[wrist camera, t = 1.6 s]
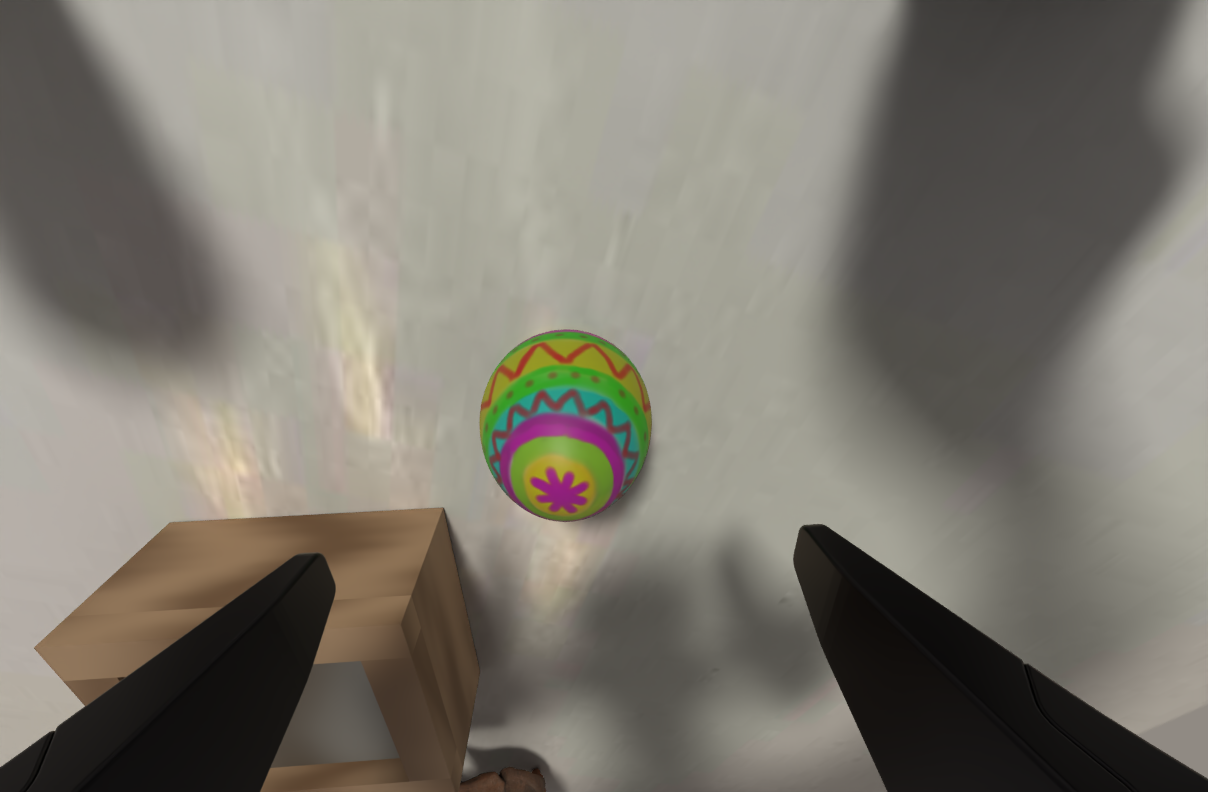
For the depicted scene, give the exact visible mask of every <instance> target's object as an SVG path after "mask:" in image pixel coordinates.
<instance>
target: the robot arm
mask: <svg viewBox="0 0 1208 792" xmlns="http://www.w3.org/2000/svg"><path fill="white" fill-rule="evenodd" d="M793 562H794V568H795V571H796V574H797V577H798V580H799V583H800V586H801V589H802V592H803V595H804V598H805V601H806V603H807V606H808V609H809V612H810V615H811V618H812V621H813V624H814V627H815V630H816V633H817V636H818V638H819V641H820V644H821V647H822V649H823V651H824V654H825V656H826V658H827V660H828V663H829V665H830V667H831V669H832V671H833V674H834V676H835V678H836V680H837V682H838V685H839V687H840V689H841V691H842V693H843V696H844V698H845V700H846V702H847V704H848V706H849V709H850V711H851V713H852V715H853V717H854V720H855V722H856V724H857V726H858V728H859V731H860V733H861V735H862V737H863V739H864V741H865V744H866V746H867V748H868V750H869V752H870V755H871V757H872V759H873V761H874V763H875V766H876V768H877V770H878V772H879V774H880V776H881V779H882V781H883V783H884V785H885V787H886V790H887V792H1208V779H1207V778H1206V777H1204V776H1202V775H1201V774H1199V773H1197V772H1196V771H1194V770H1193V769H1191V768H1189V767H1187V766H1186V765H1184V764H1183V763H1181V762H1179V761H1178V760H1176V759H1174V758H1173V757H1171V756H1169V755H1168V754H1166V753H1165V752H1163V751H1161V750H1160V749H1158V748H1156V747H1155V746H1153V745H1151V744H1150V743H1148V742H1147V741H1145V740H1143V739H1142V738H1140V737H1139V736H1137V735H1136V734H1134V733H1133V732H1131V731H1129V730H1128V729H1126V728H1125V727H1123V726H1121V725H1120V724H1118V723H1117V722H1115V721H1113V720H1112V719H1110V718H1109V717H1107V716H1105V715H1104V714H1102V713H1101V712H1099V711H1098V710H1096V709H1095V708H1093V707H1092V706H1090V705H1089V704H1087V703H1086V702H1084V701H1083V700H1081V699H1080V698H1078V697H1077V696H1075V695H1074V694H1072V693H1070V692H1069V691H1067V690H1066V689H1064V688H1063V687H1061V686H1060V685H1058V684H1057V683H1055V682H1054V681H1052V680H1051V679H1050V678H1048V677H1047V676H1045V675H1044V674H1042V673H1041V672H1039V671H1038V670H1036V669H1035V668H1033V667H1032V666H1031V665H1029V664H1024V663H1023V661H1022V660H1021V659H1020V658H1019V657H1017V656H1016V655H1014V654H1013V653H1011V652H1010V651H1008V650H1007V649H1005V648H1004V647H1003V646H1001V645H1000V644H998V643H997V642H995V641H994V640H992V639H991V638H989V637H988V636H986V635H985V634H984V633H982V632H981V631H979V630H978V629H976V628H975V627H973V626H972V625H970V624H969V623H967V622H966V621H965V620H963V619H962V618H960V617H959V616H957V615H956V614H954V613H953V612H951V611H950V610H948V609H947V608H946V607H944V606H943V605H941V604H940V603H938V602H937V601H935V600H934V599H932V598H931V597H929V596H928V595H927V594H925V593H924V592H922V591H921V590H919V589H918V588H916V587H915V586H913V585H912V584H910V583H909V582H908V581H906V580H905V579H903V578H902V577H900V576H899V575H897V574H896V573H894V572H893V571H891V570H890V569H889V568H887V567H886V566H884V565H883V564H881V563H880V562H878V561H877V560H875V559H874V558H872V557H871V556H869V555H868V554H867V553H865V552H864V551H862V550H861V549H859V548H858V547H856V546H855V545H853V544H852V543H850V542H849V541H848V540H846V539H845V538H843V537H842V536H840V535H839V534H837V533H836V532H834V531H833V530H831V529H830V528H829V527H827V526H825V525H823V524H813V525H803V526H802V527H801V528H800V530H799V533H798V538H797V542H796V547H795V551H794V556H793ZM335 593H336V584H335V581H334V578H333V576H332V573H331V571H330V568H329V566H328V563H327V561H326V558H325V556H324V555H323V554H322V553H319V552H313V553H300V554H297V555H295V556H293V557H292V558H290V559H289V560H287V561H286V562H285V563H283V564H282V565H280V566H279V567H278V568H276V569H275V570H274V571H272V572H271V573H269V574H268V575H267V576H265V577H264V578H262V579H261V580H260V581H258V582H257V583H256V584H254V585H253V586H251V587H250V588H249V589H247V590H246V591H244V592H243V593H242V594H240V595H239V596H238V597H236V598H235V599H233V600H232V601H231V602H229V603H228V604H226V605H225V606H224V607H222V608H221V609H220V610H218V611H217V612H215V613H214V614H213V615H211V616H210V617H208V618H207V619H206V620H204V621H203V622H201V623H200V624H199V625H197V626H196V627H195V628H193V629H192V630H190V631H189V632H188V633H186V634H185V635H183V636H182V637H181V638H179V639H178V640H177V641H175V642H174V643H172V644H171V645H170V646H168V647H167V648H165V649H164V650H163V651H161V652H160V653H159V654H157V655H156V656H154V657H153V658H152V659H150V660H149V661H147V662H146V663H145V664H143V665H142V666H141V667H139V668H138V669H136V670H135V671H134V672H132V673H131V674H129V675H128V676H127V677H125V678H124V679H122V680H121V681H120V682H118V683H117V684H116V685H114V686H113V687H111V688H110V689H109V690H107V691H106V692H104V693H103V694H102V695H100V696H99V697H98V698H96V699H95V700H93V701H92V702H91V703H89V704H88V705H86V706H85V707H84V708H82V709H81V710H79V711H78V712H77V713H75V714H74V715H73V716H71V717H70V718H68V719H67V720H66V721H64V722H63V723H61V724H60V725H59V726H58V727H57V728H56V730H55V731H51V732H49V733H47V734H46V735H45V736H43V737H42V738H41V739H39V740H38V741H36V742H35V743H34V744H32V745H31V746H29V747H28V748H27V749H25V750H24V751H23V752H21V753H20V754H18V755H17V756H16V757H14V758H13V759H11V760H10V761H8V762H7V763H6V764H4V765H3V766H1V767H0V792H260V791H261V789H262V786H263V784H264V782H265V779H266V777H267V775H268V772H269V770H270V768H271V765H272V763H273V761H274V758H275V756H276V754H277V752H278V749H279V747H280V745H281V742H282V740H283V738H284V735H285V733H286V731H287V728H288V726H289V724H290V721H291V719H292V717H293V714H294V712H295V710H296V707H297V705H298V703H299V700H300V698H301V696H302V693H303V691H304V688H305V686H306V683H307V681H308V678H309V675H310V672H311V670H312V667H313V664H314V660H315V657H316V654H317V651H318V648H319V645H320V642H321V638H322V635H323V632H324V629H325V626H326V623H327V620H328V616H329V613H330V610H331V607H332V604H333V601H334V597H335Z"/></svg>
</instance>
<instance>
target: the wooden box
mask: <svg viewBox="0 0 1208 792" xmlns="http://www.w3.org/2000/svg"><path fill="white" fill-rule="evenodd" d="M313 552H319V553H322V554H323V555H324V556H325V558H326V561H327V563H328V566H329V568H330V571H331V573H332V576H333V578H334V581H335V584H336V593H335V597H334V601H333V604H332V607H331V610H330V613H329V616H328V620H327V623H326V626H325V629H324V632H323V635H322V638H321V642H320V645H319V648H318V651H317V654H316V657H315V660H314V664H313V667H312V670H311V672H310V675H309V678H308V681H307V683H306V686H305V688H304V691H303V693H302V696H301V698H300V700H299V703H298V705H297V707H296V710H295V712H294V714H293V717H292V719H291V721H290V724H289V726H288V728H287V731H286V733H285V735H284V738H283V740H282V742H281V745H280V747H279V749H278V752H277V754H276V756H275V758H274V761H273V763H272V765H271V768H270V770H269V772H268V775H267V777H266V779H265V782H264V784H263V786H262V789H261V791H260V792H459V787H460V782H461V776H462V770H463V765H464V759H465V753H466V748H467V742H468V737H469V731H470V725H471V720H472V714H473V709H474V703H475V697H476V692H477V686H478V680H479V675H480V669H479V665H478V660H477V656H476V651H475V647H474V642H473V638H472V634H471V629H470V625H469V620H468V616H467V611H466V607H465V603H464V598H463V594H462V589H461V585H460V580H459V576H458V571H457V567H456V563H455V558H454V554H453V549H452V545H451V540H450V536H449V532H448V527H447V523H446V518H445V514H444V509H443V508H429V509H411V510H393V511H374V512H356V513H338V514H319V515H301V516H283V517H264V518H246V519H228V520H209V521H191V522H173V523H169V524H168V525H167V526H166V527H165V528H163V529H162V530H161V531H160V532H159V533H158V534H157V535H156V536H155V537H154V538H153V539H152V540H150V541H149V542H148V543H147V544H146V545H145V546H144V547H143V548H142V549H141V550H140V551H138V552H137V553H136V554H135V555H134V556H133V557H132V558H131V559H130V560H129V561H128V562H127V563H125V564H124V565H123V566H122V567H121V568H120V569H119V570H118V571H117V572H116V573H115V574H114V575H112V576H111V577H110V578H109V579H108V580H107V581H106V582H105V583H104V584H103V585H102V586H100V587H99V588H98V589H97V590H96V591H95V592H94V593H93V594H92V595H91V596H90V597H89V598H87V599H86V600H85V601H84V602H83V603H82V604H81V605H80V606H79V607H78V608H77V609H75V610H74V611H73V612H72V613H71V614H70V615H69V616H68V617H67V618H66V619H65V620H64V621H62V622H61V623H60V624H59V625H58V626H57V627H56V628H55V629H54V630H53V631H52V632H50V633H49V634H48V635H47V636H46V637H45V638H44V639H43V640H42V641H41V642H40V643H39V644H37V645H36V646H35V647H34V649H35V650H36V651H37V652H38V653H39V654H40V656H41V657H42V658H43V659H44V660H45V661H46V662H47V664H48V665H49V666H50V667H51V668H52V669H53V670H54V671H55V673H56V674H57V675H58V676H59V677H60V678H61V679H62V680H63V682H64V683H65V684H66V685H67V686H68V687H69V688H70V689H71V691H72V692H73V693H74V694H75V695H76V696H77V697H78V698H79V700H80V701H81V702H82V703H83V704H84V705H85V706H86V705H88V704H89V703H91V702H92V701H93V700H95V699H96V698H98V697H99V696H100V695H102V694H103V693H104V692H106V691H107V690H109V689H110V688H111V687H113V686H114V685H116V684H117V683H118V682H120V681H121V680H122V679H124V678H125V677H127V676H128V675H129V674H131V673H132V672H134V671H135V670H136V669H138V668H139V667H141V666H142V665H143V664H145V663H146V662H147V661H149V660H150V659H152V658H153V657H154V656H156V655H157V654H159V653H160V652H161V651H163V650H164V649H165V648H167V647H168V646H170V645H171V644H172V643H174V642H175V641H177V640H178V639H179V638H181V637H182V636H183V635H185V634H186V633H188V632H189V631H190V630H192V629H193V628H195V627H196V626H197V625H199V624H200V623H201V622H203V621H204V620H206V619H207V618H208V617H210V616H211V615H213V614H214V613H215V612H217V611H218V610H220V609H221V608H222V607H224V606H225V605H226V604H228V603H229V602H231V601H232V600H233V599H235V598H236V597H238V596H239V595H240V594H242V593H243V592H244V591H246V590H247V589H249V588H250V587H251V586H253V585H254V584H256V583H257V582H258V581H260V580H261V579H262V578H264V577H265V576H267V575H268V574H269V573H271V572H272V571H274V570H275V569H276V568H278V567H279V566H280V565H282V564H283V563H285V562H286V561H287V560H289V559H290V558H292V557H293V556H295V555H297V554H300V553H313Z"/></svg>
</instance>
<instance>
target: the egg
mask: <svg viewBox="0 0 1208 792" xmlns="http://www.w3.org/2000/svg"><path fill="white" fill-rule="evenodd" d="M651 427H652V418H651V407H650V401H649V397H648V393H647V390H646V387H645V384H644V382H643V380H642V378H641V376H640V374H639V372H638V371H637V369H636V367H635V366H634V365H633V363H632V362H631V361H630V359H629V358H628V357H627V356H626V355H625V354H624V353H623V352H622V351H621V350H620V349H618V348H617V347H616V346H615V345H613V344H612V343H610V342H609V341H607V340H605V339H603V338H601V337H599V336H597V335H594V334H591V333H588V332H584V331H578V330H554V331H549V332H545V333H541V334H538V335H536V336H533V337H531V338H529V339H527V340H525V341H524V342H522V343H521V344H519V345H518V346H516V347H515V348H514V349H513V350H512V351H510V352H509V353H508V354H507V355H506V356H505V357H504V359H503V360H502V361H501V362H500V363H499V365H498V366H497V368H496V369H495V371H494V372H493V374H492V376H491V378H490V380H489V382H488V384H487V387H486V389H485V392H484V396H483V399H482V404H481V411H480V437H481V444H482V448H483V452H484V456H485V459H486V462H487V464H488V467H489V469H490V471H491V473H492V475H493V477H494V478H495V480H496V482H497V483H498V485H499V486H500V487H501V489H502V490H503V491H504V492H505V493H506V495H507V496H508V497H509V498H510V499H511V500H513V501H514V502H515V503H516V504H517V505H519V506H520V507H521V508H523V509H524V510H526V511H528V512H530V513H531V514H534V515H536V516H538V517H541V518H544V519H548V520H552V521H561V522H570V521H578V520H582V519H586V518H589V517H591V516H594V515H596V514H598V513H600V512H602V511H604V510H605V509H607V508H608V507H610V506H611V505H613V504H614V503H615V502H616V501H617V500H619V499H620V498H621V497H622V496H623V495H624V494H625V492H626V491H627V490H628V489H629V488H630V486H631V485H632V483H633V482H634V480H635V479H636V477H637V476H638V474H639V472H640V470H641V468H642V466H643V463H644V461H645V458H646V455H647V452H648V448H649V443H650V437H651Z"/></svg>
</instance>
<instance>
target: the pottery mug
mask: <svg viewBox="0 0 1208 792" xmlns="http://www.w3.org/2000/svg"><path fill="white" fill-rule="evenodd" d="M459 792H546V789H545V780H544V778H543V775H542V774H540V770H539V769H538V768H536V769H533V770H532V773H531V772H529V771H526V770H519V769H515V768H513V767H507V768H504V769H502V770H501V771H500V774H499V775H498V773H496V772H488V773H483V774H480V775H479V776H477V777H475V778H472V779H470V780H468V781H466V782H461V783H460V787H459Z"/></svg>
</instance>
